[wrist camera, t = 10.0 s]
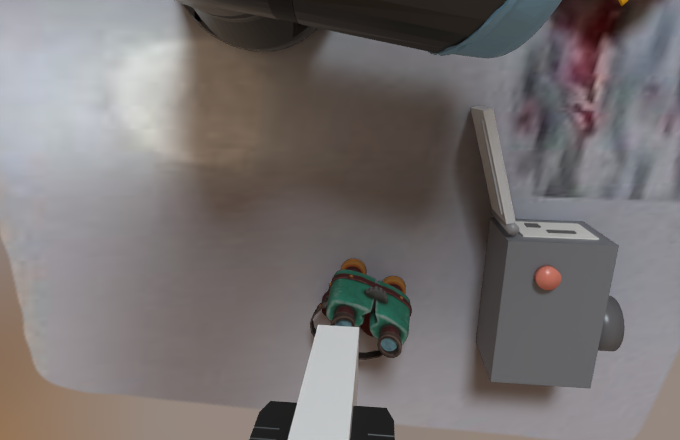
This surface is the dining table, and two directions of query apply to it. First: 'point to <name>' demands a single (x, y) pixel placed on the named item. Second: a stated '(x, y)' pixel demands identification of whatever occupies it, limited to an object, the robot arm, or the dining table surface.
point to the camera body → (547, 303)
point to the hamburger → (622, 2)
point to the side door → (494, 167)
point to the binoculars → (368, 307)
